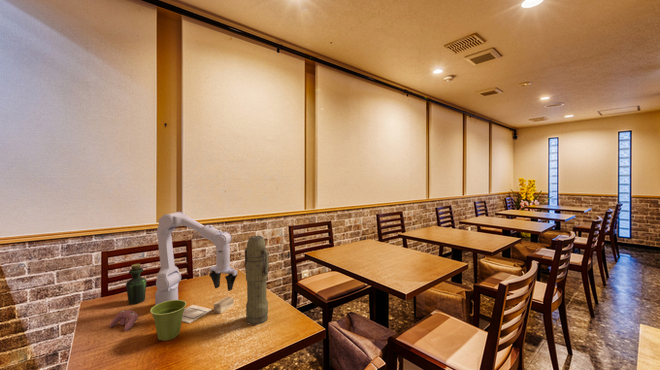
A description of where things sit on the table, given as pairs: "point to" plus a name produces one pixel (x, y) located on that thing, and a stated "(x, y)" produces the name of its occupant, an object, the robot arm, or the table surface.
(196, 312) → the mat
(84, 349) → the table surface
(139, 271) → the potion bottle
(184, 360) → the table surface
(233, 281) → the robot arm
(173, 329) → the plant pot
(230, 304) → the tall beige pillar block
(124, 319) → the video game controller
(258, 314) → the thermos
